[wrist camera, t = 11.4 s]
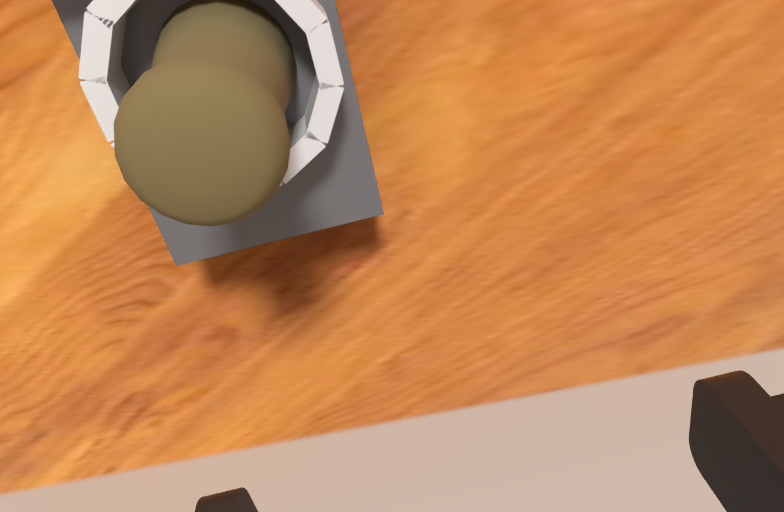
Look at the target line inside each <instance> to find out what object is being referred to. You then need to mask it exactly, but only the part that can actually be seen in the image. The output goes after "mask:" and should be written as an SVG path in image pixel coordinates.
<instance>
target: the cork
mask: <svg viewBox="0 0 784 512" xmlns="http://www.w3.org/2000/svg"><path fill="white" fill-rule="evenodd" d="M296 71H297V66H296V61H295V56H294V51H293V46H292V44H291V42H290V41H289V39H288V37H287V35H286V33H285V32H284V30H283V28H282V26H281V25H280V24H279V23H278V22H277V21H276V20H275V19H274V18H273V17H272V16H271V15H270V14H269V13H268V12H267V11H266V10H265V9H263V8H262V7H260V6H258V5H256V4H254V3H252V2H250V1H248V0H190V1H188V2H187V3H185V4H183V5H181V6H179V7H178V8H176V9H175V10H174V12H173V13H172V14H171V15H170V16H169V18H168V19H167V20H166V21H165V22H164V24H163V25H162V27H161V30H160V33H159V36H158V38H157V41H156V44H155V48H154V55H153V62H152V69H150V70H148V71H146V72H144V73H143V74H142V75H141V77H140V78H139V79H138V80H137V81H136V82H135V84H134V85H133V86H132V87H131V88H130V89H129V91H128V92H127V93H126V94H125V95H124V97H123V98H122V100H121V103H120V106H119V109H118V112H117V115H116V117H115V120H114V148H115V157H116V160H117V162H118V165H119V167H120V170H121V172H122V175H123V177H124V180H125V181H126V182H127V184H128V185H129V186H130V187H131V189H132V190H133V191H134V192H135V194H136V195H137V196H138V197H139V198H140V200H141V201H143V202H144V203H146V204H147V205H148V206H150V207H151V208H153V209H154V210H156V211H157V212H158V213H160V214H161V215H163V216H165V217H168V218H171V219H174V220H176V221H179V222H182V223H185V224H188V225H200V226H211V227H213V226H219V225H224V224H230V223H235V222H238V221H240V220H242V219H244V218H246V217H248V216H250V215H252V214H254V213H256V212H258V211H259V210H260V209H261V208H262V207H263V206H264V205H265V204H266V203H267V202H268V201H269V200H270V199H271V198H272V197H273V196H274V195H275V193H276V192H277V190H278V188H279V186H280V184H281V182H282V180H283V178H284V176H285V174H286V172H287V170H288V164H289V155H290V146H291V144H290V136H289V132H288V127H287V123H286V118H285V114H284V112H285V110H286V107H287V105H288V103H289V100H290V98H291V96H292V93H293V91H294V89H295V80H296Z"/></svg>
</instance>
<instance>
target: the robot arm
mask: <svg viewBox="0 0 784 512" xmlns="http://www.w3.org/2000/svg"><path fill="white" fill-rule="evenodd" d="M689 444H690V449H691V453H692V456H693V459H694V461H695V463H696V466H697V468H698V469H699V471H700V473H701V475H702V476H703V478H704V479H705V480H706V482H707V483H708V485H709V486H710V488H711V489H712V491H713V492H714V494H715V495H716V496H717V498H718V499H719V501H720V502H721V504H722V505H723V507H724V508H725V510H726V511H727V512H784V394H780V395H776V396H771V397H770V396H769V395H768V393H767V392H766V391H765V390H764V389H763V388H762V387H761V386H760V385H759V384H758V383H757V382H756V381H755V379H754V378H753V377H751V376H750V375H749V374H748V373H746V372H744V371H741V370H740V371H734V372H730V373H726V374H723V375H718V376H714V377H709V378H705V379H701V380H698V381H696V383H695V385H694V388H693V399H692V409H691V421H690V431H689ZM195 512H258V511H257V509H256V507H255V505H254V503H253V501H252V499H251V497H250V495H249V493H248V491H247V490H246V489H245V488H238V489H234V490H230V491H226V492H222V493H217V494H213V495H209V496H205V497H201V498H200V499H199V501H198V502H197V505H196V509H195Z"/></svg>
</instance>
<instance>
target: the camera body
mask: <svg viewBox="0 0 784 512" xmlns="http://www.w3.org/2000/svg"><path fill="white" fill-rule="evenodd" d="M188 1H190V0H52V2H53V4H54V6H55V8H56V10H57V12H58V14H59V17H60V19H61V21H62V23H63V25H64V27H65V29H66V31H67V34H68V36H69V38H70V40H71V42H72V44H73V46H74V49H75V51H76V53H77V55H78V57H79V59H80V67H79V78H81V79H82V80H81V81H80V82H79V83H80V85H81V87H82V89H83V91H84V93H85V95H86V97H87V99H88V102H89V104H90V106H91V108H92V110H93V112H94V114H95V116H96V118H97V120H98V122H99V125H100V127H101V129H102V131H103V133H104V135H105V137H106V139H107V141H108V142H109V141H113V140H114V120H115V117H116V115H117V112H118V109H119V106H120V103H121V100H122V98H123V97H124V95H125V94H126V93H127V92H128V91H129V89H130V88H131V87H132V86H133V85H134V84H135V82H136V81H137V80H138V79H139V78H140V77H141V75H142V74H143V73H144V72H146V71H148V70H150V69H152V62H153V55H154V48H155V44H156V41H157V38H158V36H159V33H160V30H161V27H162V25H163V24H164V22H165V21H166V20H167V19H168V18H169V16H170V15H171V14H172V13H173V12H174V10H175V9H176V8H178V7H179V6H181V5H183V4H185V3H187V2H188ZM248 1H250V2H252V3H254V4H256V5H258V6H260V7H262V8H263V9H265V10H266V11H267V12H268V13H269V14H270V15H271V16H272V17H273V18H274V19H275V20H276V21H277V22H278V23H279V24H280V25H281V26H282V28H283V30H284V32H285V33H286V35H287V37H288V39H289V41H290V42H291V44H292V46H293V51H294V56H295V61H296V66H297V71H296V80H295V89H294V91H293V93H292V96H291V98H290V100H289V103H288V105H287V107H286V110H285V112H284V114H285V118H286V123H287V127H288V132H289V136H290V144H291V146H290V155H289V164H288V170H287V172H286V174H285V176H284V178H283V180H282V182H281V184H280V186H279V188H278V190H277V192H276V193H275V195H274V196H273V197H272V198H271V199H270V200H269V201H268V202H267V203H266V204H265V205H264V206H263V207H262V208H261V209H260V210H259V211H258V212H256V213H254V214H252V215H250V216H248V217H246V218H244V219H242V220H240V221H238V222H235V223H230V224H224V225H219V226H213V227H211V226H200V225H188V224H185V223H182V222H179V221H176V220H174V219H171V218H168V217H165V216H163V215H161V214H160V213H158V212H157V211H156V210H154V209H153V208H151V207H150V206H149V209H150V211H151V213H152V215H153V217H154V219H155V221H156V223H157V226H158V228H159V230H160V232H161V234H162V236H163V238H164V241H165V243H166V245H167V247H168V249H169V251H170V253H171V255H172V258H173V260H174V262H175V264H176V266H178V265H182V264H186V263H190V262H194V261H198V260H202V259H206V258H210V257H214V256H218V255H222V254H226V253H230V252H234V251H238V250H242V249H246V248H250V247H254V246H258V245H262V244H266V243H270V242H274V241H278V240H282V239H286V238H290V237H294V236H298V235H302V234H306V233H310V232H314V231H318V230H322V229H326V228H330V227H334V226H338V225H342V224H346V223H350V222H354V221H358V220H362V219H366V218H370V217H374V216H378V215H382V214H384V212H383V208H382V204H381V199H380V195H379V191H378V186H377V182H376V178H375V173H374V169H373V165H372V160H371V156H370V151H369V147H368V143H367V138H366V134H365V130H364V125H363V121H362V117H361V112H360V108H359V104H358V99H357V95H356V91H355V86H354V82H353V78H352V73H351V69H350V65H349V60H348V56H347V52H346V47H345V43H344V39H343V34H342V30H341V26H340V21H339V17H338V13H337V8H336V4H335V0H248ZM111 146H112V147H113V148H114V141H113V142H112V144H111Z"/></svg>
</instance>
